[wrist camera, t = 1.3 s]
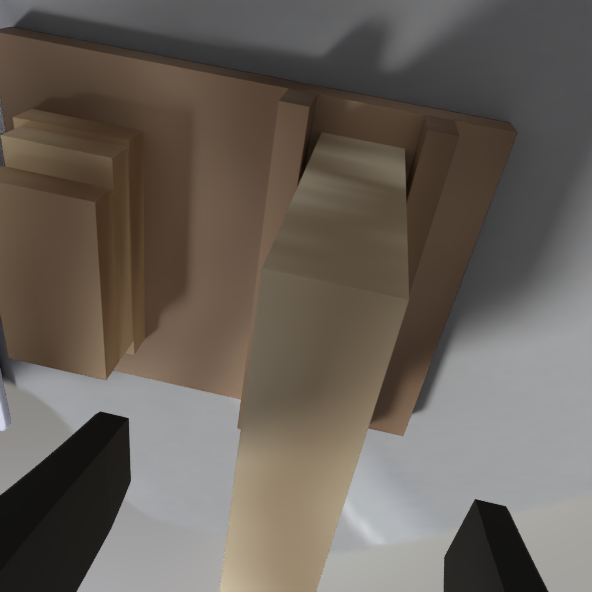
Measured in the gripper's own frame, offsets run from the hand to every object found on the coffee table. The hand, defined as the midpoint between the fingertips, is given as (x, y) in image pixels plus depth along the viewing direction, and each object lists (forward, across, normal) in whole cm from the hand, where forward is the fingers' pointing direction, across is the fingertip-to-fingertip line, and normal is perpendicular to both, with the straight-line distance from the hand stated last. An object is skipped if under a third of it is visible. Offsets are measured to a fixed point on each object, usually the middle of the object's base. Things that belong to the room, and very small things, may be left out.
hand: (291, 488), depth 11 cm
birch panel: (+8, 0, 0) cm, 8 cm away
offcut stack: (+8, +8, 0) cm, 12 cm away
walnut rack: (+9, +4, 0) cm, 10 cm away
